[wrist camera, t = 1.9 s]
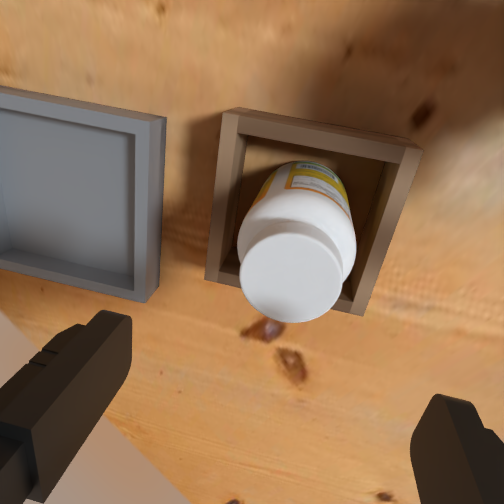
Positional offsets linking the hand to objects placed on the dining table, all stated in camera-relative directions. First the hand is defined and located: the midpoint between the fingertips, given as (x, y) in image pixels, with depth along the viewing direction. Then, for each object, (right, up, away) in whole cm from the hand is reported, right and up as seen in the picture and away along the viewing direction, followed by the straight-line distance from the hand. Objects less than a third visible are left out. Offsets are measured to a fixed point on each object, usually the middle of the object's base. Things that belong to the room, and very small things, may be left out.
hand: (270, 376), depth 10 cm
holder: (+3, +6, +13) cm, 15 cm away
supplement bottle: (+3, +6, +13) cm, 15 cm away
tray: (-12, +7, +15) cm, 21 cm away
